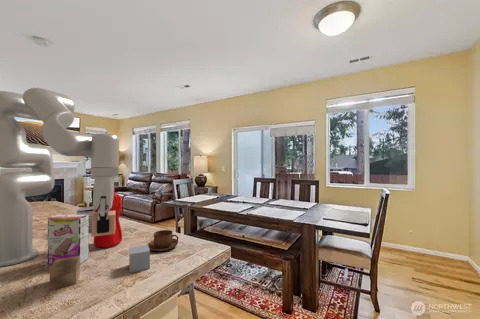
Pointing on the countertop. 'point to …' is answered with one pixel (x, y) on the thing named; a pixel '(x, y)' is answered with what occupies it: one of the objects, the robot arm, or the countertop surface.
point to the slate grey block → (139, 258)
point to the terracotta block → (111, 224)
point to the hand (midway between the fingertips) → (104, 228)
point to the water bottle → (115, 238)
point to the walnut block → (64, 272)
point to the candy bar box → (68, 237)
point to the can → (87, 212)
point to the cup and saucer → (163, 241)
